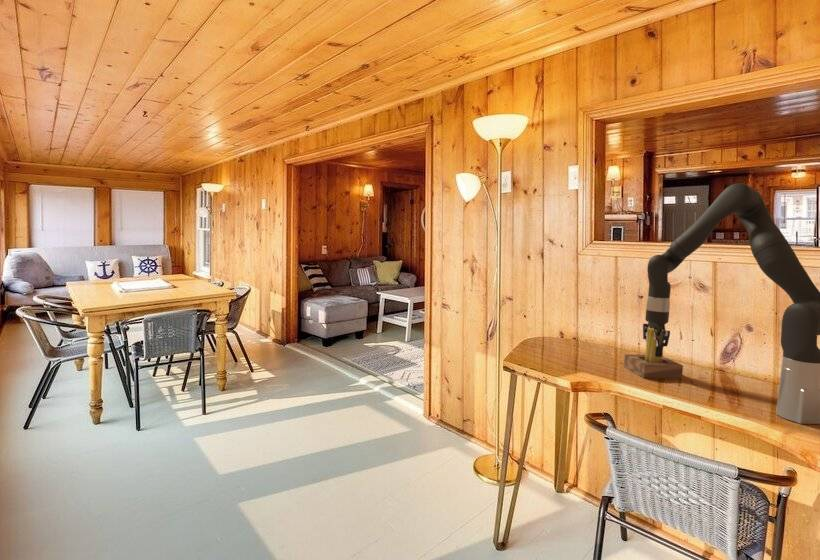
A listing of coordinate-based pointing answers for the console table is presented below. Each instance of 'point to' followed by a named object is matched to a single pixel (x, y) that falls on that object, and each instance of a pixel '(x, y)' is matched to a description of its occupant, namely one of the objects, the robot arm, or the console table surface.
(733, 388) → the console table surface
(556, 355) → the console table surface
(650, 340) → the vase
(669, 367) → the bore block
